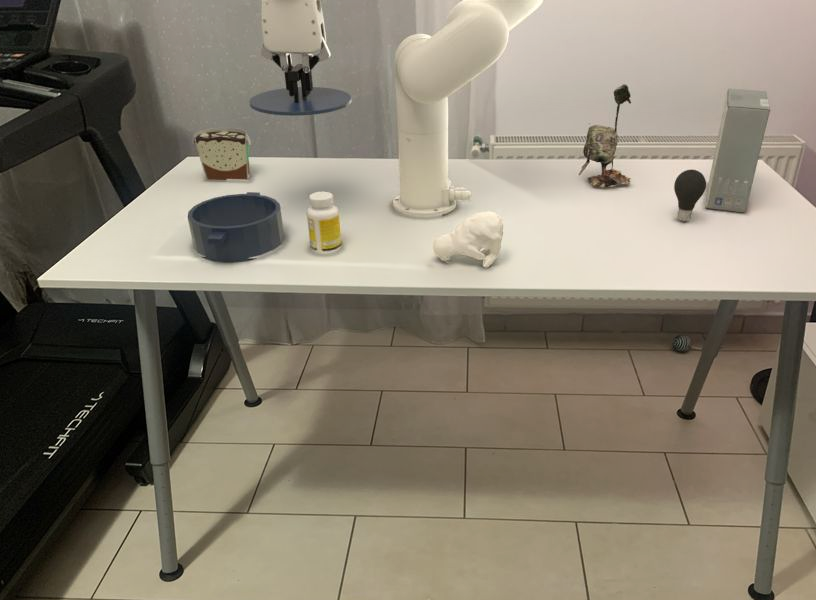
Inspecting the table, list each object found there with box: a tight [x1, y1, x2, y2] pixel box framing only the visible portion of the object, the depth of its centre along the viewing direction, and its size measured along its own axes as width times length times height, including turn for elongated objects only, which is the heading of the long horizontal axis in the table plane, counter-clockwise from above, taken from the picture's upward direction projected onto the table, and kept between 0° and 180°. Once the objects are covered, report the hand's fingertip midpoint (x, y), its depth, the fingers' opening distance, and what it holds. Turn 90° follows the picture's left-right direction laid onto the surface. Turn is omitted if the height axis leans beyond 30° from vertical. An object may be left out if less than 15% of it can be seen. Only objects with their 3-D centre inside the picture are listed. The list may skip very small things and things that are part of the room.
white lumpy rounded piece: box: [432, 211, 504, 269], centre depth 120 cm, size 6×8×12 cm
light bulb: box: [673, 169, 707, 223], centre depth 133 cm, size 6×6×10 cm
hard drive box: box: [705, 88, 771, 213], centre depth 141 cm, size 16×8×20 cm, turn 162°
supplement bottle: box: [306, 191, 342, 254], centre depth 124 cm, size 5×5×10 cm
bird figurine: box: [577, 83, 632, 188], centre depth 148 cm, size 8×11×20 cm
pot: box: [187, 191, 286, 263], centre depth 126 cm, size 16×21×6 cm
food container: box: [192, 127, 252, 182], centre depth 155 cm, size 12×6×10 cm, turn 84°
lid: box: [249, 63, 352, 117], centre depth 127 cm, size 18×18×6 cm
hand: (300, 93), depth 128 cm, fingers closed on lid
